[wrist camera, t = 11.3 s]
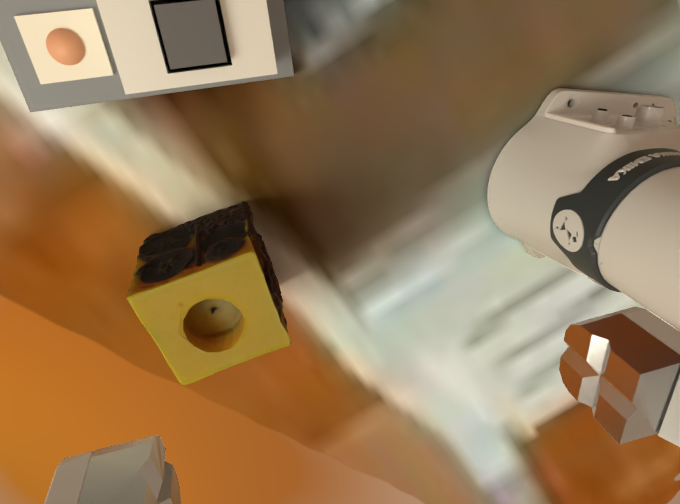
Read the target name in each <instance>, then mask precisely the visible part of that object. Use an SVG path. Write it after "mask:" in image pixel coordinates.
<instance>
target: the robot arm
mask: <svg viewBox="0 0 680 504" xmlns="http://www.w3.org/2000/svg"><path fill="white" fill-rule="evenodd" d="M569 100H570V103H569V105H567V103H568V101H569ZM487 199H488V207H489V211H490V214H491V217H492V219H493V221H494V222H495V224H496V225H497V226H498V228H499V229H500V230H502V231H503V232H504V233H506V234H507V235H509V236H511V237H513V238H515V239H518V240H519V241H521V242H522V244H523V246H524V247H525V249H526V250H527V251H528V252H529V253H530V254H531V255H533V256H535V257H537V258H542V257H545V256H547V257H548V258H550V259H552V260H554V261H556V262H558V263H559V264H561V265H563V266H565V267H567V268H569V269H571V270H573V271H574V272H576V273H579V274H583V275H587V276H588V278H589V279H591V280H592V281H594V282H596V283H597V284H600V285H603V286H604V287H606V288H608V289H610V290H613V291H617V292H622V293H624V294H625V295H627V296H628V297H630V298H631V299H633V300H634V301H636V302H637V303H639V304H640V305H642V306H643V307H645V308H646V309H648V310H649V311H651V312H652V313H654V314H655V315H657V316H659V317H660V318H662V319H663V320H665V321H666V322H668V323H669V324H671V325H672V326H674V327H675V328H677V329H678V330H680V124H677V117H676V110H675V106H674V103H673V100H672V99H670V98H667V97H664V96H657V95H645V94H632V93H619V92H606V91H593V90H580V89H567V88H558V89H555V90H553V91H552V92H551V93H550V94H549V95H548V96H547V97H546V99H545V100H544V102H543V103H542V105H541V107H540V108H539V110H538V112H537V113H536V115H535V116H534V117H533V118H532V119H531V120H530V121H529V122H528V123H527V124H526V125H525V126H524V127H522V128H521V129H520V130H519V131H518V132H517V133H516V134H515V135H514V136H513V137H512V138H511V139H510V140H509V142H508V143H507V144H506V145H505V147H504V148H503V150H502V151H501V153H500V154H499V156H498V158H497V160H496V162H495V164H494V167H493V169H492V172H491V175H490V179H489V184H488V192H487ZM646 309H643V308H639V307H632V308H628V309H625V310H621V311H618V312H614V313H612V314H607V315H603V316H599V317H596V318H592V319H589V320H585V321H581V322H578V323H574V324H571V325H570V326H569V327H568V328H567V330H566V332H565V337H564V341H565V342H566V344H567V345H568V346H569V347H568V348H567V349H566V351H565V352H564V353H563V355H562V356H561V359H560V367H559V370H560V374H561V377H562V381H563V383H564V385H565V386H566V388H567V390H568V391H569V392H570V393H571V395H572V396H573V397H574V398H575V399H576V400H577V401H579V402H581V403H583V404H586V405H588V406H590V407H592V409H593V416H594V419H595V420H596V421H597V422H598V423H599V424H600V425H601V426H602V427H603V428H604V429H605V430H606V431H607V432H608V433H609V434H610V435H611V436H612V437H613V438H614V439H615V440H616V441H617V442H618V443H619V444H623V443H626V442H630V441H633V440H636V439H640V438H643V437H647V436H650V435H654V434H657V433H659V434H658V436H660V437H662V438H664V439H665V440H667V441H669V442H671V443H673V444H675V445H677V446H679V447H680V332H679V331H677V330H676V329H674V328H673V327H671V326H670V325H668V324H667V323H665V322H664V321H662V320H661V319H659V318H658V317H656V316H655V315H653V314H652V313H650V312H649V311H647V310H646ZM165 450H166V448H165V446H164V444H163V442H162V440H161V438H160V436H152V437H148V438H143V439H139V440H135V441H131V442H127V443H122V444H118V445H114V446H110V447H106V448H102V449H98V450H95V451H92V452H88V453H83V454H79V455H75V456H71V457H67V458H64V459H63V460H62V461H61V463H60V464H59V465H58V467H57V468H56V471H55V474H54V477H53V480H52V483H51V485H50V489H49V492H48V494H47V498H46V500H45V503H44V504H181V498H180V486H179V482H178V478H177V474H176V472H175V469H174V467H173V465H171V464H169V463H167V462H165V461H164V460H165Z"/></svg>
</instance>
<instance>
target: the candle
mask: <svg viewBox="0 0 680 504" xmlns="http://www.w3.org/2000/svg"><path fill="white" fill-rule="evenodd" d="M261 238H262V236H261V235H259V234H257V233H256V231H255V229H254V226H253V218H252V213H251V211H250V207H249V205H248V204H247V203H246V202H242V203H240V204H239V205H238V206H231V207H229V208H227V209H225V210H218V211H216V212H214V213H212V214H209V215H205V216H202V217H199V218H197V219H195V220H193V221H192V222H190V221H189V222H186V223H185V224H182V225H178V227H176V228H173V229H170V230H168V231H166V232H164V233H161V234H155V235H151V236H149V237H148V238H147V239H145V240H144V244H143V245H142V246H141V247H140V249H139V255H138V257H137V265H136V270H135V272H134V278H135V279H134V280H133V281H132V282H131V288H130V289H129V291H128V294H127V297H126V298H127V300H128V302H129V303H130V305H131V307H132V308H133V310H134V312H135V313H136V315H137V316H138V318H139V319H140V321H141V322H142V324H143V325H144V327H145V328H146V329H147V331H148V332H149V333H150V335H151V337H152V338H153V340H154V341H155V343H156V344H157V346H158V347H159V349H160V351H161V353H162V354H163V356H164V358H165V360H166V362H167V363H168V365H169V366H170V368H171V370H172V371H173V373H174V375H175V376H176V378H177V380H178V381H179V383H180V384H182V385H187V384H190V383H193V382H196V381H198V380H201V379H203V378H205V377H207V376H209V375H212V374H214V373H216V372H218V371H221V370H224V369H226V368H229V367H231V366H234V365H237V364H239V363H242V362H244V361H247V360H250V359H252V358H255V357H257V356H260V355H263V354H266V353H269V352H272V351H275V350H278V349H281V348H284V347H286V346H289V345H290V344H291V338H290V336H289V335H288V330H287V322H286V319H285V317H284V313H283V305H282V302H283V300H282V296H281V291H280V288H279V283H278V280H277V278H276V275H275V273H274V270H273V267H272V262H270V257H269V255H268V253H267V251H266V247H265V245H264V242H263V241H262V240H261Z"/></svg>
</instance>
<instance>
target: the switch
mask: <svg viewBox="0 0 680 504" xmlns="http://www.w3.org/2000/svg"><path fill="white" fill-rule="evenodd" d="M154 8H155V12H156V16H157V20H158V24H159V27H160V31H161V35H162V39H163V43H164V47H165V51H166V54H167V58H168V62H169V66H170V69H177V68H185V67H192V66H200V65H208V64H216V63H223V62H227V58H226V53H225V48H224V43H223V38H222V33H221V28H220V23H219V18H218V14H217V9H216V4H215V0H199V1H189V2H179V3H170V4H160V5H154Z"/></svg>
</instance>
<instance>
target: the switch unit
mask: <svg viewBox="0 0 680 504" xmlns="http://www.w3.org/2000/svg"><path fill="white" fill-rule="evenodd" d="M189 1H199V0H0V41H1V43H2V46H3V48H4V50H5V53H6V55H7V58H8V60H9V62H10V65H11V67H12V69H13V72H14V74H15V77H16V79H17V81H18V84H19V86H20V89H21V91H22V93H23V96H24V98H25V101H26V103H27V105H28V108H29V110H30V112H35V111H43V110H50V109H57V108H64V107H72V106H79V105H86V104H93V103H101V102H108V101H115V100H123V99H130V98H137V97H144V96H152V95H159V94H166V93H173V92H181V91H188V90H195V89H203V88H210V87H217V86H224V85H232V84H239V83H246V82H253V81H261V80H268V79H275V78H283V77H290V76H294V71H293V64H292V56H291V49H290V42H289V35H288V27H287V20H286V13H285V6H284V0H215V4H216V9H217V14H218V18H219V23H220V28H221V33H222V38H223V43H224V48H225V53H226V58H227V62H223V63H216V64H208V65H200V66H192V67H185V68H177V69H170V66H169V62H168V58H167V54H166V51H165V47H164V43H163V39H162V35H161V31H160V27H159V24H158V20H157V16H156V12H155V8H154V5H160V4H170V3H179V2H189Z"/></svg>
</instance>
